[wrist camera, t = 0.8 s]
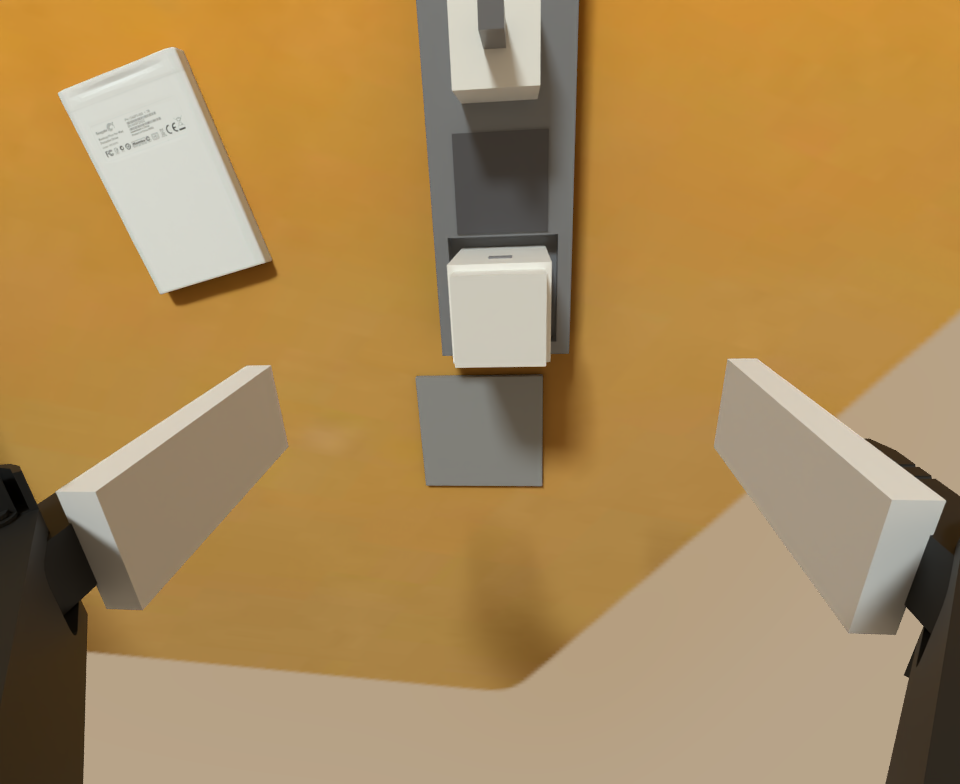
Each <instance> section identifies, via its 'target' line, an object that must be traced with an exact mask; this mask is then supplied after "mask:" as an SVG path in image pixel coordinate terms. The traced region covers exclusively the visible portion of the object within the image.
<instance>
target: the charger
mask: <svg viewBox="0 0 960 784" xmlns="http://www.w3.org/2000/svg"><path fill="white" fill-rule="evenodd" d="M447 275H448V290H449V305H450V320H451V335H452V350H453V363H455V368H475V367H543V366H546V362H550V359H551V282H552V261H551V259H550V256H549V254H548V251H547V249H546V246H545V245H528V246H500V247H471V248H462V249H461V250H460V251H459V252H458V253H457V254H456V255H455V257H454V258H453V259H452V260H451V261H450V262H449V263H448V264H447Z"/></svg>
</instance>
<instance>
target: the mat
mask: <svg viewBox="0 0 960 784" xmlns="http://www.w3.org/2000/svg"><path fill="white" fill-rule="evenodd" d="M416 387H417V397H418V407H419V417H420V427H421V437H422V448H423V458H424V468H425V478H426V485H433V486H542V434H543V374H531V375H457V376H416Z"/></svg>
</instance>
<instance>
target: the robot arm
mask: <svg viewBox="0 0 960 784" xmlns="http://www.w3.org/2000/svg"><path fill="white" fill-rule="evenodd" d="M287 448H288V442H287V438H286V433H285V428H284V424H283V419H282V415H281V410H280V405H279V401H278V396H277V391H276V387H275V382H274V378H273V373H272V368H271V365H265V366H245V367H244V368H242V369H241V370H239V371H238V372H236V373H235V374H233V375H232V376H230V377H229V378H227V379H226V380H224V381H223V382H221V383H220V384H218V385H216V386H215V387H213V388H212V389H210V390H209V391H207V392H206V393H204V394H203V395H201V396H200V397H198V398H197V399H195V400H194V401H192V402H191V403H189V404H188V405H186V406H185V407H183V408H182V409H180V410H179V411H177V412H175V413H174V414H172V415H171V416H169V417H168V418H166V419H165V420H163V421H162V422H160V423H159V424H157V425H156V426H154V427H153V428H151V429H150V430H148V431H147V432H145V433H144V434H142V435H141V436H139V437H138V438H136V439H135V440H133V441H131V442H130V443H128V444H127V445H125V446H124V447H122V448H121V449H119V450H118V451H116V452H115V453H113V454H112V455H110V456H109V457H107V458H106V459H104V460H103V461H101V462H100V463H98V464H97V465H95V466H94V467H92V468H90V469H89V470H87V471H86V472H84V473H83V474H81V475H80V476H78V477H77V478H75V479H74V480H72V481H71V482H69V483H68V484H66V485H65V486H63V487H62V488H60V489H59V490H57V491H56V493H54V494H52V495H51V496H49V497H48V498H46V499H45V500H43V501H42V502H40V503H39V504H37V503H36V501H35V499H34V497H33V495H32V492H31V490H30V488H29V486H28V484H27V481H26V479H25V477H24V475H23V473H22V471H21V468H20V466H17V465H12V464H4V465H0V784H83V766H84V727H85V690H86V655H87V617H88V615H87V612H86V610H85V608H84V605H83V603H82V601H81V599H82V598H83V597H84V596H85V595H86V594H88V593H89V592H90V591H91V590H92V589H93V588H94V587H95V586H97V588H98V590H99V592H100V595H101V597H102V599H103V602H104V604H105V606H106V608H107V609H128V610H143V609H144V608H145V607H146V606H147V605H148V603H149V602H150V601H151V600H152V599H153V598H154V597H155V596H156V594H157V593H158V592H159V591H160V590H161V589H162V588H163V587H164V585H165V584H166V583H167V582H168V581H169V580H170V579H171V578H172V577H173V575H174V574H175V573H176V572H177V571H178V570H179V569H180V568H181V566H182V565H183V564H184V563H185V562H186V561H187V560H188V559H189V557H190V556H191V555H192V554H193V553H194V552H195V551H196V550H197V548H198V547H199V546H200V545H201V544H202V543H203V542H204V541H205V540H206V538H207V537H208V536H209V535H210V534H211V533H212V532H213V531H214V529H215V528H216V527H217V526H218V525H219V524H220V523H221V522H222V520H223V519H224V518H225V517H226V516H227V515H228V514H229V513H230V512H231V510H232V509H233V508H234V507H235V506H236V505H237V504H238V503H239V501H240V500H241V499H242V498H243V497H244V496H245V495H246V494H247V492H248V491H249V490H250V489H251V488H252V487H253V486H254V485H255V483H256V482H257V481H258V480H259V479H260V478H261V477H262V476H263V475H264V473H265V472H266V471H267V470H268V469H269V468H270V467H271V466H272V464H273V463H274V462H275V461H276V460H277V459H278V458H279V457H280V455H281V454H282V453H283V452H284V451H285V450H286V449H287ZM714 448H715V449H716V451H717V452H718V454H719V455H720V456H721V458H722V459H723V460H724V462H725V463H726V465H727V466H728V467H729V469H730V470H731V471H732V473H733V474H734V476H735V477H736V478H737V480H738V481H739V483H740V484H741V485H742V487H743V488H744V489H745V491H746V492H747V494H748V495H749V496H750V498H751V499H752V501H753V502H754V503H755V504H756V506H757V507H758V509H759V510H760V512H761V513H762V514H763V516H764V517H765V518H766V520H767V521H768V523H769V524H770V525H771V527H772V528H773V530H774V531H775V532H776V534H777V535H778V536H779V538H780V539H781V541H782V542H783V543H784V545H785V546H786V548H787V549H788V550H789V552H790V553H791V554H792V556H793V557H794V559H795V560H796V561H797V563H798V564H799V565H800V567H801V568H802V570H803V571H804V572H805V574H806V575H807V576H808V578H809V579H810V581H811V582H812V583H813V585H814V586H815V587H816V589H817V590H818V592H819V593H820V595H821V596H822V597H823V599H824V600H825V601H826V603H827V604H828V606H829V607H830V608H831V610H832V611H833V612H834V613H835V615H836V617H837V618H838V619H839V620H840V622H841V624H842V625H843V626H844V628H845V629H846V630H847V632H848V633H859V634H888V635H896V632H897V630H898V627H899V624H900V622H901V619H902V617H903V614H904V611H905V608H906V607H907V608H908V609H909V610H910V612H912V614H913V615H914V616H915V617H916V618H917V619H918V620H919V621H920V623H921V624H922V625H923V626H924V627H923V629H922V632H921V634H920V637H919V639H918V642H917V644H916V646H915V649H914V652H913V654H912V656H911V659H910V662H909V664H908V666H907V669H906V671H905V674H904V675H905V676H907V677H909V681H908V685H907V690H906V695H905V699H904V703H903V708H902V713H901V717H900V722H899V726H898V730H897V735H896V739H895V744H894V748H893V753H892V757H891V762H890V766H889V771H888V776H887V780H886V784H960V496H958V495H957V494H956V493H954V492H953V491H952V490H950V489H949V488H948V487H946V486H945V485H943V484H942V483H941V482H939V481H938V480H936V479H932V478H931V475H929V474H928V473H927V472H925V471H924V470H922V469H921V468H920V467H915V464H914V463H913V462H911V461H910V460H908V459H907V458H906V457H904V456H903V455H902V454H900V453H899V452H897V451H896V450H893V449H891V448H889V447H887V446H885V445H882V444H880V443H878V442H876V441H873V440H871V439H863V438H862V437H861V436H859V435H858V434H856V433H855V432H854V431H853V430H851V429H850V428H849V427H847V426H846V425H845V424H843V423H842V422H841V421H839V420H838V419H837V418H835V417H834V416H833V415H831V414H830V413H829V412H827V411H826V410H825V409H823V408H822V407H821V406H819V405H818V404H817V403H815V402H814V401H813V400H811V399H810V398H809V397H807V396H806V395H805V394H803V393H802V392H801V391H799V390H798V389H797V388H795V387H794V386H793V385H791V384H790V383H789V382H787V381H786V380H785V379H783V378H782V377H781V376H779V375H778V374H777V373H775V372H774V371H773V370H771V369H770V368H769V367H767V366H766V365H765V364H763V363H762V362H761V361H759V360H758V359H728V360H727V366H726V372H725V379H724V385H723V392H722V398H721V404H720V411H719V417H718V424H717V430H716V436H715V443H714Z"/></svg>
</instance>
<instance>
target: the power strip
mask: <svg viewBox="0 0 960 784" xmlns="http://www.w3.org/2000/svg"><path fill="white" fill-rule="evenodd" d="M416 4H417V18H418V31H419V45H420V58H421V71H422V85H423V98H424V112H425V125H426V138H427V152H428V165H429V179H430V192H431V205H432V219H433V232H434V246H435V259H436V272H437V286H438V299H439V313H440V326H441V339H442V353H443V356H453V350H452V335H451V320H450V305H449V290H448V275H447V264H448V263H449V262H450V261H451V260H452V259H453V258H454V257H455V255H456V254H457V253H458V252H459V251H460V250H461V249H462V248H471V247H500V246H528V245H545V246H546V249H547V251H548V254H549V256H550V259H551V261H552V282H551V354H569V336H570V301H571V265H572V229H573V193H574V158H575V122H576V86H577V50H578V15H579V0H416Z"/></svg>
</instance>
